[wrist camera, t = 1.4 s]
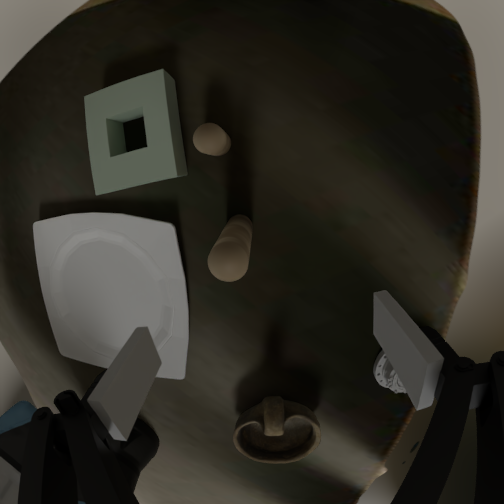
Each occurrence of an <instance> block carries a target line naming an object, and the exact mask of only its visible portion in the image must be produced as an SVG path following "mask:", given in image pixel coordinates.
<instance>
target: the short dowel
mask: <svg viewBox="0 0 504 504" xmlns="http://www.w3.org/2000/svg"><path fill="white" fill-rule="evenodd" d="M193 142H194V145H195V147H196V148H197V149H198V150H199V151H200V152H202V153H205V154H209V155H213V156H222V155H224V154H226V153H227V152H228V151H229V149H230V147H231V139H230V137H229V136H228V134H227V133H226V132H225V131H224V130H223V129H222V128H221V127H220V126H218V125H217V124H214V123H205V124H203V125H201V126H199V127H198V128H197V129H196V131H195V133H194V136H193Z"/></svg>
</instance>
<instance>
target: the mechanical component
mask: <svg viewBox="0 0 504 504" xmlns="http://www.w3.org/2000/svg"><path fill="white" fill-rule="evenodd" d="M373 372H374V376H375V378H376V380H377V382H378V383H379V384H380V385H382V386H384V387H387V388H390V389H391V390H392V391H394V392H395V393H397V392H404V393H406V392H407V391H406V390H405V388H404V386H403V384H402V382H401V381H400V379H399V377H398V375H397V373H396V372H395V370H394V368H393V366H392V365H391V363H390V361H389V359H388V358H387V356H386V354H385V352H384V351H383V350H382V351H381V352H380V353H379V355H378V356H377V358H376V361H375V363H374V369H373Z"/></svg>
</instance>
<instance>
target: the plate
mask: <svg viewBox="0 0 504 504" xmlns="http://www.w3.org/2000/svg"><path fill="white" fill-rule="evenodd" d="M33 233H34V244H35V252H36V260H37V267H38V273H39V279H40V284H41V289H42V294H43V298H44V302H45V306H46V310H47V314H48V317H49V321H50V324H51V327H52V331H53V334H54V337H55V340H56V343H57V346H58V349H59V352H60V354H61V355H62V356H65V357H68V358H71V359H75V360H78V361H81V362H85V363H88V364H92V365H95V366H99V367H103V368H109V366H110V365H111V363H112V362H113V360H114V359H115V357H116V356H117V355H118V353H119V352H120V350H121V349H122V347H123V346H124V345H125V343H126V342H127V340H128V339H129V337H130V336H131V335H132V333H133V332H134V330H135V329H136V328H137V327H146V326H148V329H149V332H150V334H151V337H152V339H153V342H154V345H155V347H156V350H157V352H158V354H159V357H160V359H161V362H162V364H161V366H160V368H159V370H158V373H157V375H156V377H161V378H171V379H181V380H182V379H183V378H185V373H186V362H187V351H188V342H189V308H188V299H187V289H186V279H185V274H184V269H183V264H182V259H181V254H180V249H179V244H178V239H177V233H176V228H175V226H174V225H173V224H172V223H168V222H163V221H158V220H153V219H148V218H143V217H138V216H133V215H127V214H122V213H101V212H90V213H75V214H67V215H63V216H58V217H54V218H49V219H45V220H41V221H37V222H34V224H33Z"/></svg>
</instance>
